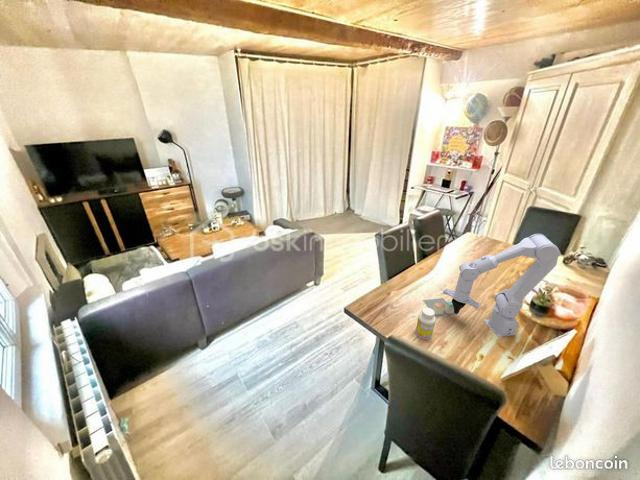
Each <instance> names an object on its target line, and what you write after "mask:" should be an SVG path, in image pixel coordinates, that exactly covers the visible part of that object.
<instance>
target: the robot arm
mask: <svg viewBox="0 0 640 480" xmlns="http://www.w3.org/2000/svg"><path fill="white" fill-rule="evenodd" d="M561 254H562V253H561V251H560V249H559V247H558V246H557V245H556V244H554V243H553V242H552V241H551V240H550V239H548V237H547V236H546V235H544V234H543V233H534V234H532V235H530V236H528V237H524V238H523V239H522V240H521V241H520V242H519V243H516V244H515V245H512V246H510V247H508V248H506V249H505V250H502V251H500V252H498V253H495V254H494V255H491V254H487V255H482V256H481V257H479V258H478V259H475V260H472V261H468V262H464V263H462V264H461V265H459V266H458V269H459V272H460V273H459V276H458V279H457V282H456V285H455V289H454V290H452V289H448V288H444V289H443V290H442V294H443V295H447V296H449V297H451V298H452V299H451V302H452V304H453V307H454V313H455V314H457V315H459V313H460V311H461V310H462V308H463V309H464V307H465V306H466V305H469V306H471V307H473V308H474V309H476V310H478V309H479V308H480V306H481V303H479V302H477V301H476V300H475V299H472V298H471V297H470V295H471V292H472V288H473V285H474V281H476V280H477V279H478V278H479V276H481V275H483V274H484V273H486V272H490V271H492V270H495V269H497V268H498V266H499V264H501V263H502V264H503V263H504V262H507V261H511V260H513V259H516V258H517V259H518V258H519V257H527V258H531V259H535V261H534V262H533V263H532V264H531V266H529V267H528V269H526V271H524V273H523V274H522V275H521V276H520V277H518V279H517V280H516V282H514V283H513V285H512V286H511V287H510V288H509V289H508V288H507V289H506V288H505V289H503V290H502V291H501V292H498V293H497V294H495V295H494V301H495V304H494V306H493V308H492V311H491V314H490V317H489V318H488V319H487V318H486V319H483V322H484V324H485V325H487V327H488V328H489V329H491V330H492V331H493V333H495V335H496V336H497V337H498V338H499V337H507V336H515V335H516V334H517V333H516V331H517V329H518V327H519V321H518V320H517V319H516V317H517V316H518V315H519V314H520V311H521V309H522V308H523V305H524V304H523V302H524V298H526V296H527V295H529V293H530V292H531V291H533V289H535V288H536V287H537V285H539V284H540V283H541V281H542V280H544V279H545V278H546V276H547V275H549V273H550V272H551V271H552V270H553V269H554V268H555V267H556V266H557V265H558V259H559V257H560V256H561Z"/></svg>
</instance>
